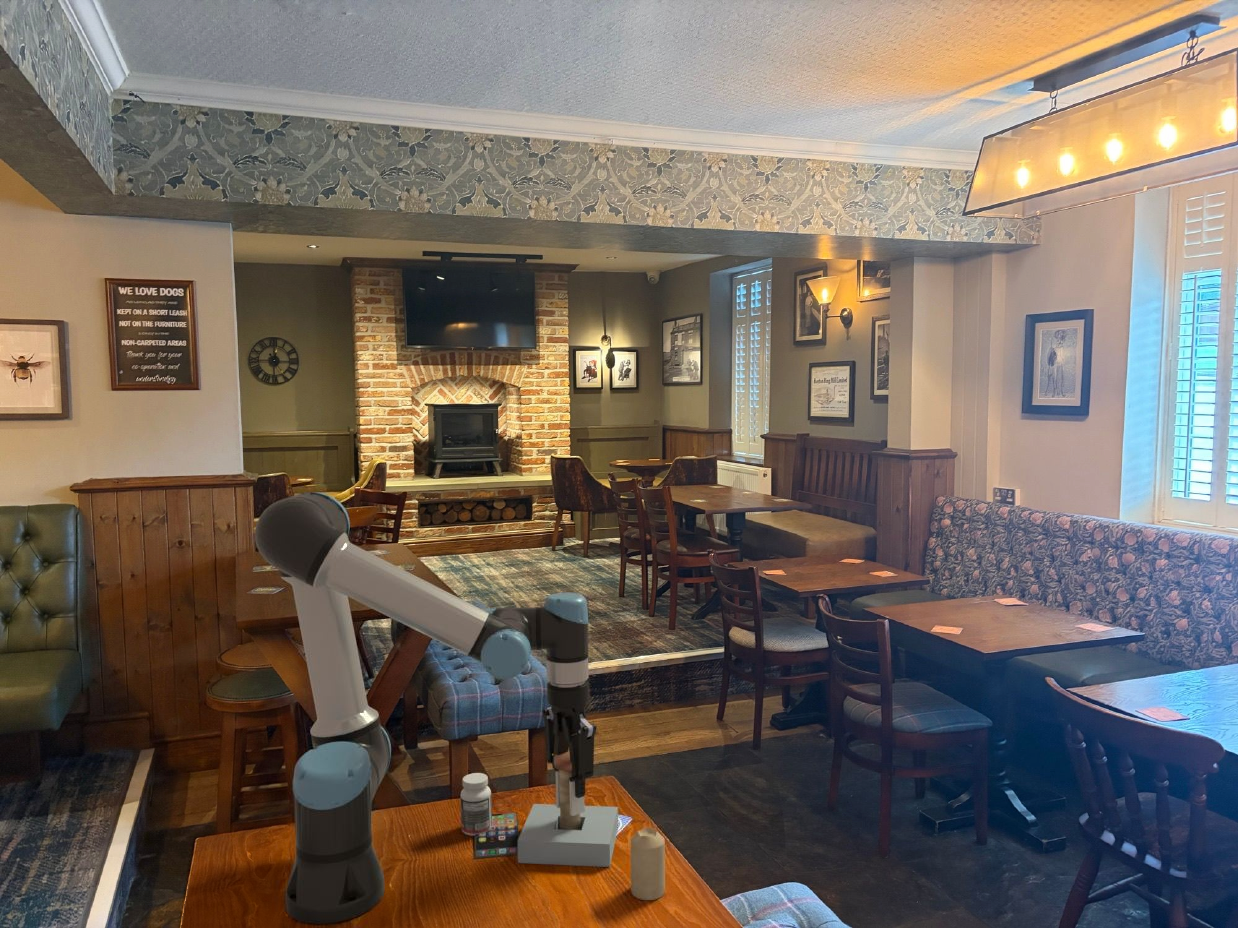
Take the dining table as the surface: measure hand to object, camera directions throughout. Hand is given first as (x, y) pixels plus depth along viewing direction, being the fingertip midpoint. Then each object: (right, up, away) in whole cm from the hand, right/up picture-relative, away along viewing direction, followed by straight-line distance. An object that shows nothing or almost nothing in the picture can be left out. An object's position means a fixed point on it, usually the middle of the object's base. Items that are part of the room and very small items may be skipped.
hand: (570, 808), depth 155 cm
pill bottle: (-18, -7, +6) cm, 20 cm away
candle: (+13, -8, -15) cm, 22 cm away
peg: (0, -5, 0) cm, 5 cm away
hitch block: (0, -7, 0) cm, 7 cm away
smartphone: (-14, -7, +4) cm, 16 cm away
